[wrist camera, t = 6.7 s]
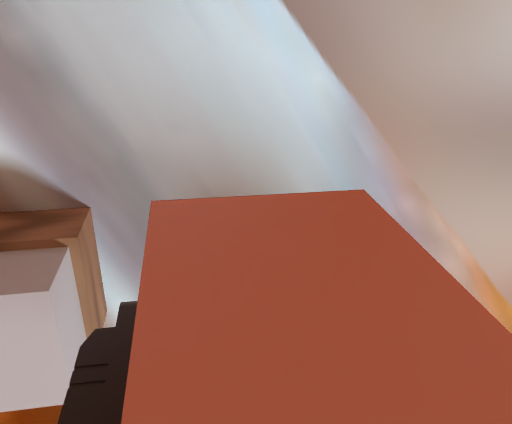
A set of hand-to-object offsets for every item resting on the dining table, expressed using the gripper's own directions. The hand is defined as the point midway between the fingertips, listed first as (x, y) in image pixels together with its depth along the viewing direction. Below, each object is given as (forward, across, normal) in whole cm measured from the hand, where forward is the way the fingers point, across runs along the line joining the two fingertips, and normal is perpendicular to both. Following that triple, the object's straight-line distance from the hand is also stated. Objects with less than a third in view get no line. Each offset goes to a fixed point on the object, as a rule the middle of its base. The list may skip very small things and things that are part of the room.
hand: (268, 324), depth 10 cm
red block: (+1, 0, 0) cm, 1 cm away
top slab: (+19, +13, +11) cm, 25 cm away
